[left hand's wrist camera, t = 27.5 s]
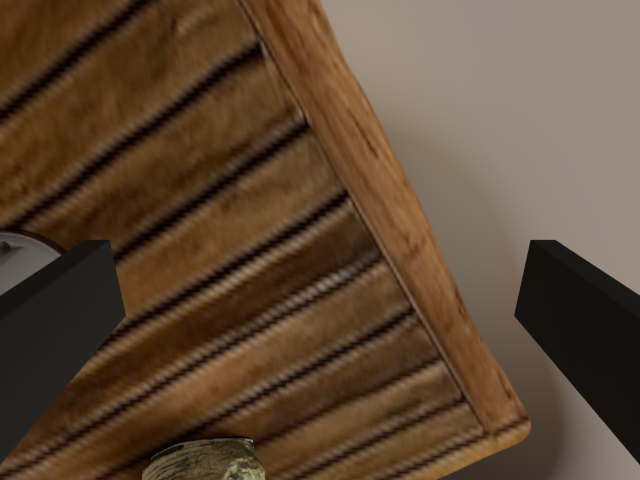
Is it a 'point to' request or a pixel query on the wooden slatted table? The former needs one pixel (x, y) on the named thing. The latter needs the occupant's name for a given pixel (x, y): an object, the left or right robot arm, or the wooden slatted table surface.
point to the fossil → (206, 461)
